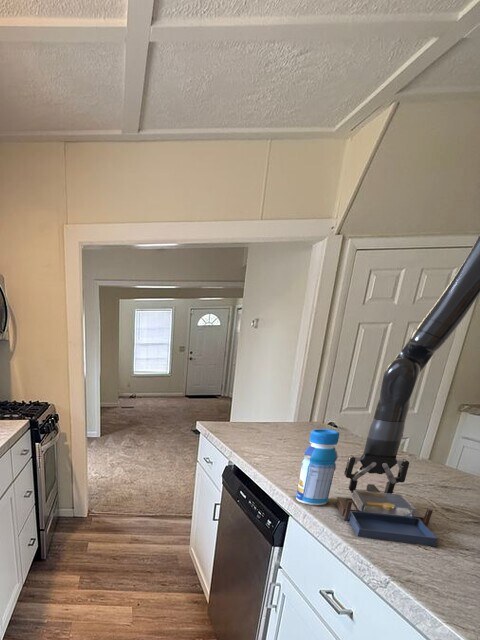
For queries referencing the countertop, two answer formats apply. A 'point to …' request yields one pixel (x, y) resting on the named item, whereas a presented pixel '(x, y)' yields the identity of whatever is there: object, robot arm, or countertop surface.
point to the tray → (392, 528)
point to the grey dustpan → (376, 496)
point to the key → (381, 504)
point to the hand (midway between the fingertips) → (369, 493)
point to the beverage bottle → (318, 467)
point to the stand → (348, 505)
